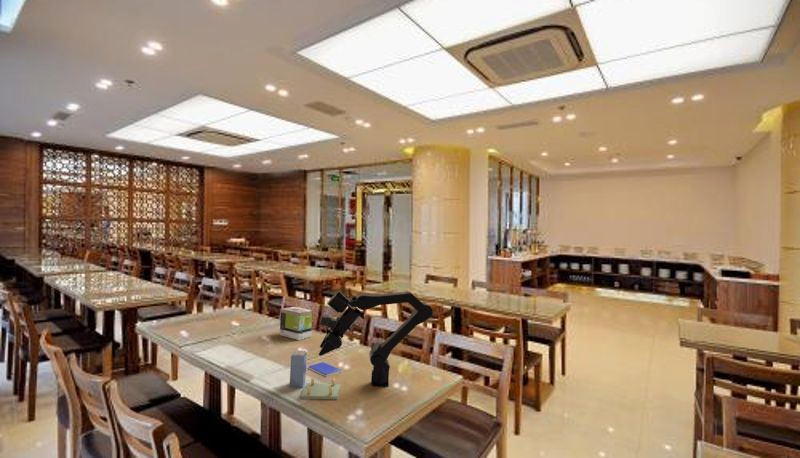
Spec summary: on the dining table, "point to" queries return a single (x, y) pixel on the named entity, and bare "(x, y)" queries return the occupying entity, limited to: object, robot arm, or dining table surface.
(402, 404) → the dining table surface
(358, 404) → the dining table surface
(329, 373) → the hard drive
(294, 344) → the dining table surface
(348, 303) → the robot arm
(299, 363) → the block
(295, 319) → the tea box
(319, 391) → the chassis
